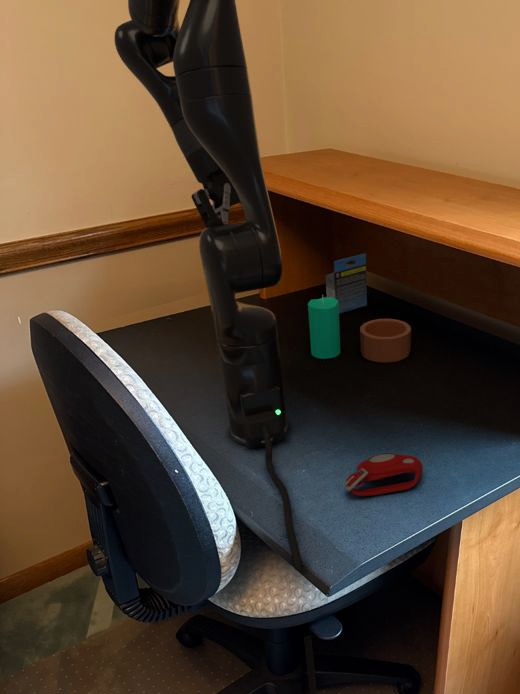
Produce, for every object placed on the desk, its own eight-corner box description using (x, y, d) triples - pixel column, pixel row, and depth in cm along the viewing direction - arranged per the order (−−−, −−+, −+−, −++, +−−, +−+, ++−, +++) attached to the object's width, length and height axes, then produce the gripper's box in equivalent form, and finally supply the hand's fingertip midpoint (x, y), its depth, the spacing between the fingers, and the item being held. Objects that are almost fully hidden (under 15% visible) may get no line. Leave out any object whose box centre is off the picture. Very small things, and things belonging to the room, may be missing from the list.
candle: (342, 346, 137) (339, 289, 130) (338, 359, 133) (336, 300, 125) (313, 345, 138) (309, 289, 131) (308, 358, 133) (304, 300, 126)
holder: (418, 356, 133) (419, 333, 130) (373, 366, 130) (372, 342, 127) (396, 338, 140) (397, 315, 137) (353, 346, 137) (352, 323, 134)
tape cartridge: (357, 301, 158) (356, 248, 150) (367, 306, 155) (367, 252, 148) (326, 310, 153) (323, 256, 146) (336, 315, 151) (333, 261, 144)
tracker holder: (363, 449, 104) (425, 444, 100) (368, 476, 105) (429, 472, 101) (335, 476, 93) (403, 472, 89) (341, 506, 94) (408, 503, 91)
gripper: (186, 149, 105) (237, 246, 112) (244, 126, 114) (290, 217, 120) (162, 167, 111) (212, 259, 117) (220, 144, 119) (264, 230, 125)
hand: (251, 238), depth 118 cm, fingers open, 8 cm apart
